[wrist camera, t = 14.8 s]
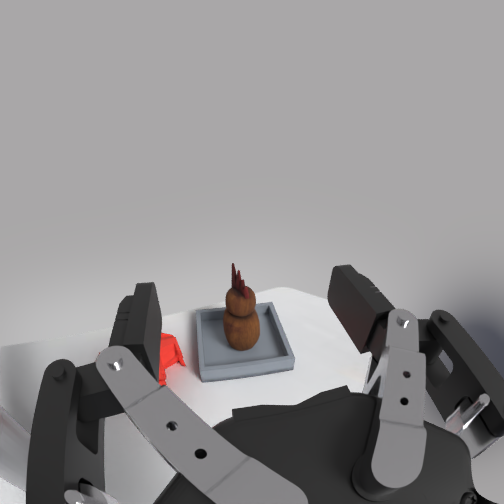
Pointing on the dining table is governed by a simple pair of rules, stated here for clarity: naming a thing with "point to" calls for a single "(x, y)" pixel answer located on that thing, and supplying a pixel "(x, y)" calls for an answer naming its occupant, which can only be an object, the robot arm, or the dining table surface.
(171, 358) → the animal figurine
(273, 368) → the slate dish
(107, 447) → the dining table surface
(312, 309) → the dining table surface
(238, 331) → the wooden figurine
